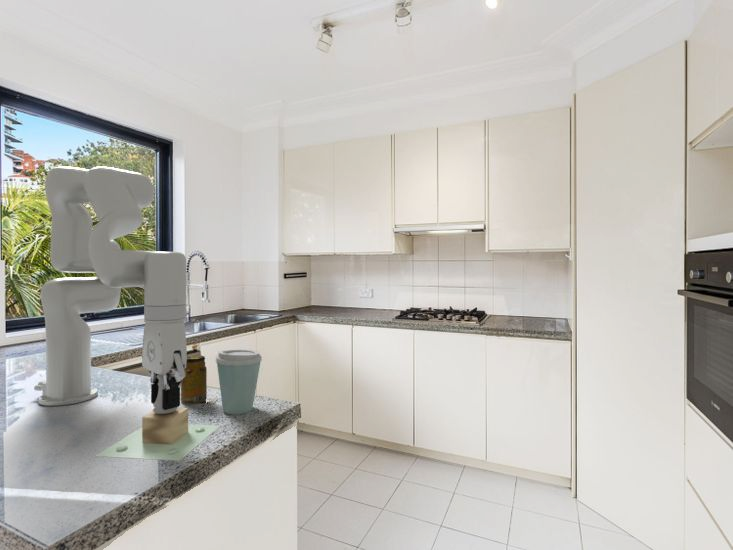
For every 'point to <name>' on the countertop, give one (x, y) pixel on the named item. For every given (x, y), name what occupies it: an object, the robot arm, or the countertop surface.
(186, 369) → the condiment
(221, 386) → the disposable coffee cup
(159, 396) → the rook chess piece
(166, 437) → the oak brick
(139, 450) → the build plate
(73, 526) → the countertop surface
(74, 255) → the robot arm
